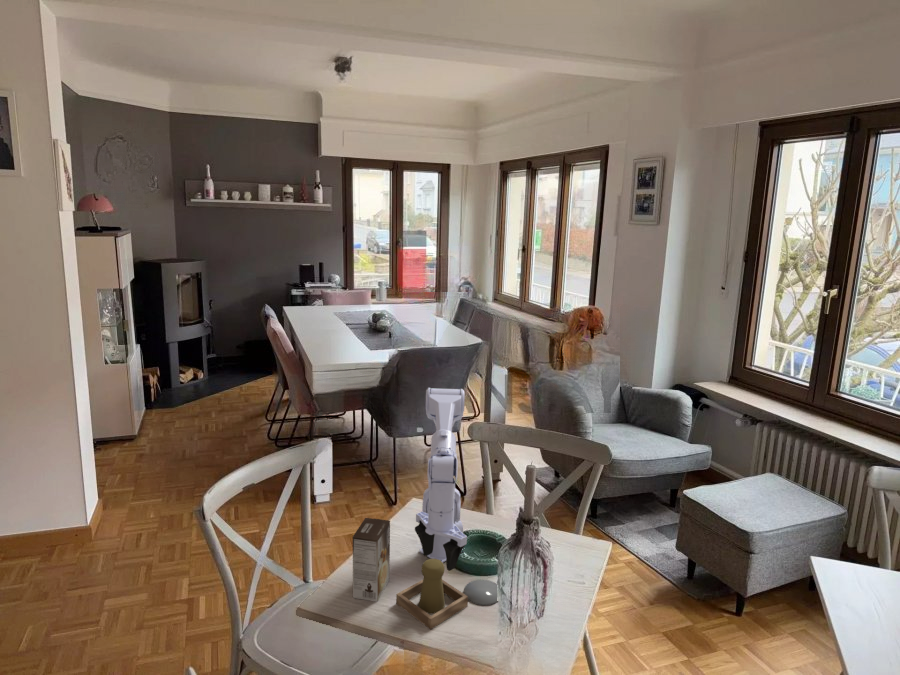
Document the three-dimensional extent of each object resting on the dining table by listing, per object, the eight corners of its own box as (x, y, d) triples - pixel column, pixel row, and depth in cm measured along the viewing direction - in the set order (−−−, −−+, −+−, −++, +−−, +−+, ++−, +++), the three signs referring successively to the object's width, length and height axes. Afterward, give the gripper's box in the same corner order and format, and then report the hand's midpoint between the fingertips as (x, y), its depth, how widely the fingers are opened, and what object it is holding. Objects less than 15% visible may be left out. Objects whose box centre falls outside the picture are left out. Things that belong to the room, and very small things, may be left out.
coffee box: (365, 575, 152) (365, 516, 148) (390, 579, 151) (391, 519, 147) (352, 598, 143) (351, 536, 139) (378, 602, 142) (379, 540, 138)
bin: (433, 582, 150) (433, 573, 149) (467, 606, 142) (467, 596, 141) (396, 603, 142) (396, 594, 141) (430, 629, 134) (430, 619, 133)
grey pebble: (481, 576, 153) (481, 574, 153) (509, 593, 147) (509, 591, 146) (456, 592, 147) (456, 590, 146) (484, 610, 140) (484, 608, 140)
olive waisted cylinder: (415, 599, 143) (416, 557, 141) (439, 594, 146) (440, 552, 143) (424, 616, 138) (425, 572, 135) (449, 610, 140) (450, 567, 138)
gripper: (406, 500, 140) (405, 554, 143) (451, 525, 130) (449, 582, 133) (429, 491, 145) (427, 543, 148) (474, 514, 135) (471, 569, 138)
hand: (439, 561), depth 141 cm, fingers open, 7 cm apart
